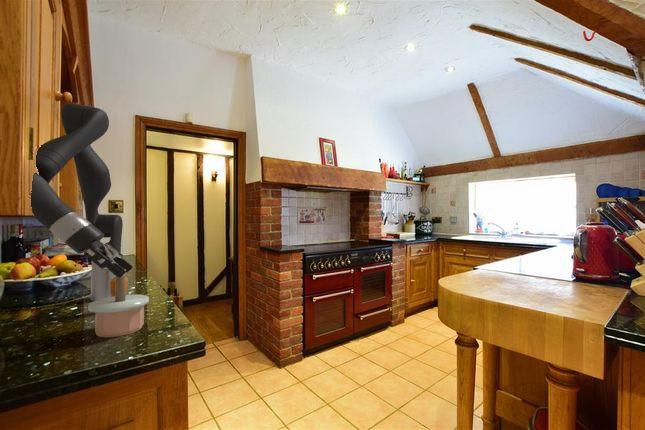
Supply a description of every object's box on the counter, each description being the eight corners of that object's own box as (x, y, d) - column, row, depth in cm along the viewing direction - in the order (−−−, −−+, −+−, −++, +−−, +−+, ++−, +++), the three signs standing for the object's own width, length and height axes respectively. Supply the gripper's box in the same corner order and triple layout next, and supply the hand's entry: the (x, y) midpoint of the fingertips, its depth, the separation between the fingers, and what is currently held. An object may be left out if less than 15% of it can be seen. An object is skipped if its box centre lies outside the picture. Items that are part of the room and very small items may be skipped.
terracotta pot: (93, 329, 82) (94, 304, 82) (139, 320, 89) (139, 297, 89) (96, 341, 73) (97, 313, 73) (146, 330, 81) (147, 305, 81)
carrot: (130, 308, 101) (131, 265, 101) (119, 312, 96) (120, 267, 96) (117, 307, 102) (118, 265, 102) (106, 312, 97) (107, 267, 97)
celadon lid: (86, 304, 82) (87, 269, 82) (143, 296, 91) (144, 264, 91) (89, 316, 71) (90, 276, 71) (153, 305, 81) (154, 270, 81)
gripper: (80, 223, 72) (132, 266, 77) (98, 222, 85) (142, 259, 90) (52, 244, 70) (108, 288, 74) (75, 240, 83) (121, 277, 87)
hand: (126, 272), depth 82 cm, fingers open, 8 cm apart
